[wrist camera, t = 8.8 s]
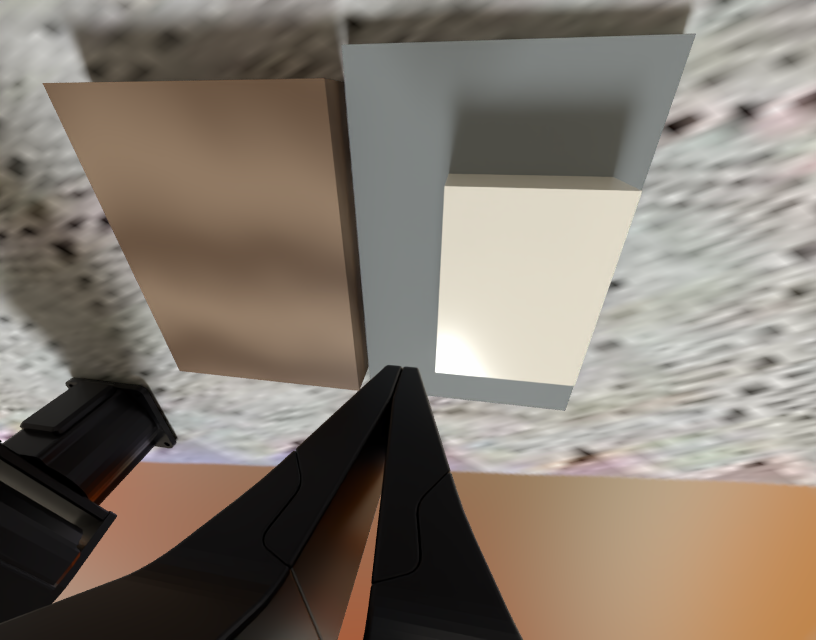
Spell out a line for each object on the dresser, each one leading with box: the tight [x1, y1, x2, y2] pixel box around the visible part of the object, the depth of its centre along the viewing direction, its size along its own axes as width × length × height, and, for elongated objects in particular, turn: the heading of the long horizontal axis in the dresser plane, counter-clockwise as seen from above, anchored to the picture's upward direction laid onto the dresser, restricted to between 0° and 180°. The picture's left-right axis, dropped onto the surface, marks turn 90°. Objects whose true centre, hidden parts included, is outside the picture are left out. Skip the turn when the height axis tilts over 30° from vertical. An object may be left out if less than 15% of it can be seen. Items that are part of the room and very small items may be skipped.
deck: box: [43, 78, 368, 391], centre depth 16 cm, size 14×11×2 cm
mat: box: [342, 34, 696, 411], centre depth 15 cm, size 16×11×1 cm
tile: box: [435, 174, 642, 386], centre depth 14 cm, size 8×6×2 cm
